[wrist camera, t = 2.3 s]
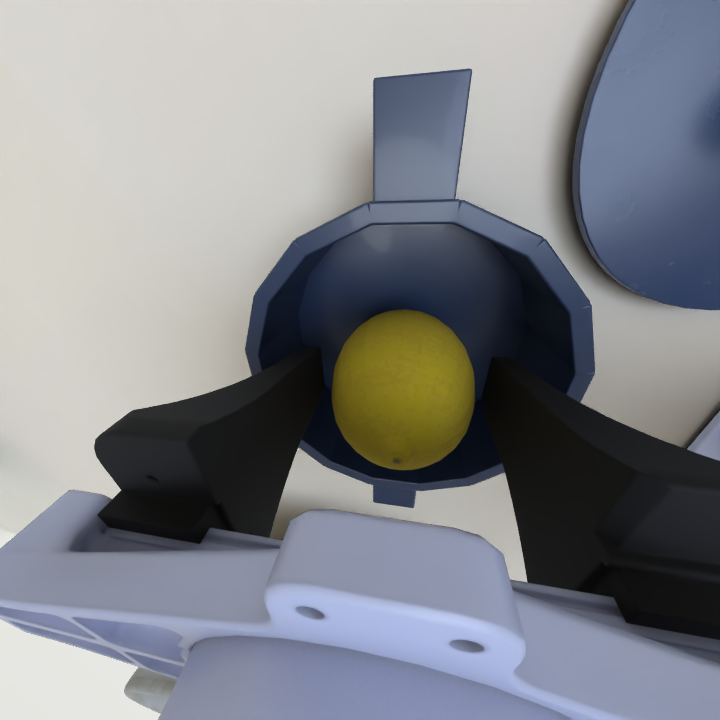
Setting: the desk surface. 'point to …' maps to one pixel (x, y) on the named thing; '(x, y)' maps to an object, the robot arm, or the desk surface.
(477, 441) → the pot
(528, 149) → the desk surface
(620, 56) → the pot lid
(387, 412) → the lemon
